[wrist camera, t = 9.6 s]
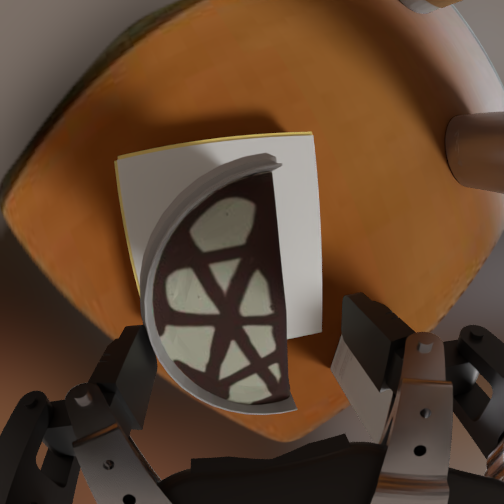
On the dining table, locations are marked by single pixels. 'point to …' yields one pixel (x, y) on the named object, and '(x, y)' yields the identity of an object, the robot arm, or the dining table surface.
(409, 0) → the coffee cup
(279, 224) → the white flat block
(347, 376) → the supplement box
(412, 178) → the dining table surface
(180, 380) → the food container
